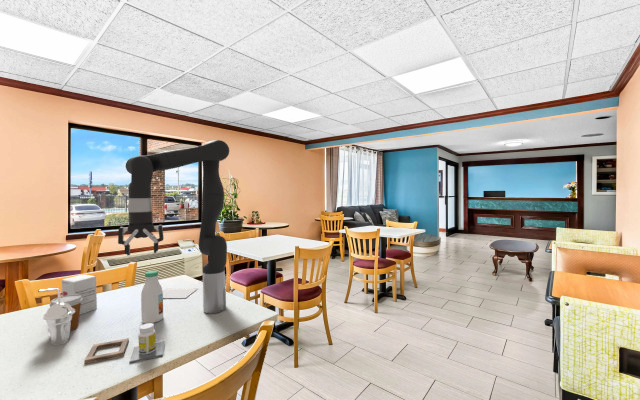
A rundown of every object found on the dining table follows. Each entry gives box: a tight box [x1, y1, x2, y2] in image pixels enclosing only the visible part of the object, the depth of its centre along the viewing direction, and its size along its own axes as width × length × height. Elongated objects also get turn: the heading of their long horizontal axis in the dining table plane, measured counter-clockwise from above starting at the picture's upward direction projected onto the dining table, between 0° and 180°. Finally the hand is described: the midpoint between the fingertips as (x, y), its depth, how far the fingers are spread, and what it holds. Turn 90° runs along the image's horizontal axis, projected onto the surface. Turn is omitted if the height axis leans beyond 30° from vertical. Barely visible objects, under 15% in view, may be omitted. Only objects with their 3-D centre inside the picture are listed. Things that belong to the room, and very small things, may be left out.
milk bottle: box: [140, 270, 164, 324], centre depth 119 cm, size 8×8×20 cm
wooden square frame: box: [83, 337, 130, 365], centre depth 96 cm, size 10×10×1 cm
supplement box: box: [61, 274, 98, 316], centre depth 128 cm, size 9×9×15 cm
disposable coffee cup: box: [49, 294, 82, 332], centre depth 111 cm, size 10×10×12 cm
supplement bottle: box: [137, 323, 157, 355], centre depth 95 cm, size 5×5×8 cm
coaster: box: [129, 341, 165, 364], centre depth 95 cm, size 9×9×1 cm
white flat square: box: [162, 287, 198, 299], centre depth 145 cm, size 23×25×1 cm
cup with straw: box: [38, 287, 75, 346], centre depth 102 cm, size 8×9×20 cm
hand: (142, 253), depth 108 cm, fingers open, 8 cm apart
